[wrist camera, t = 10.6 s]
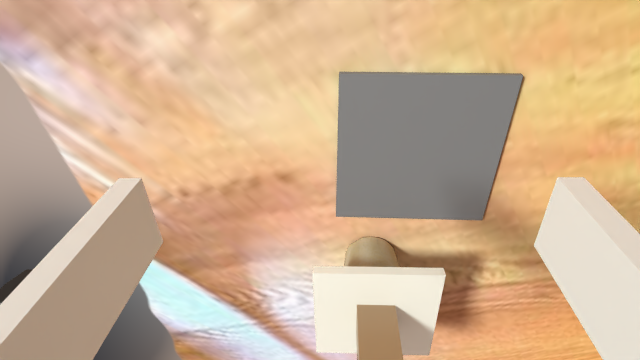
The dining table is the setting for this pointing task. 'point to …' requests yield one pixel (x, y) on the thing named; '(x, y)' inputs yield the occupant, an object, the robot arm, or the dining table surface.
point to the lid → (376, 310)
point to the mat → (420, 142)
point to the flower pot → (371, 253)
